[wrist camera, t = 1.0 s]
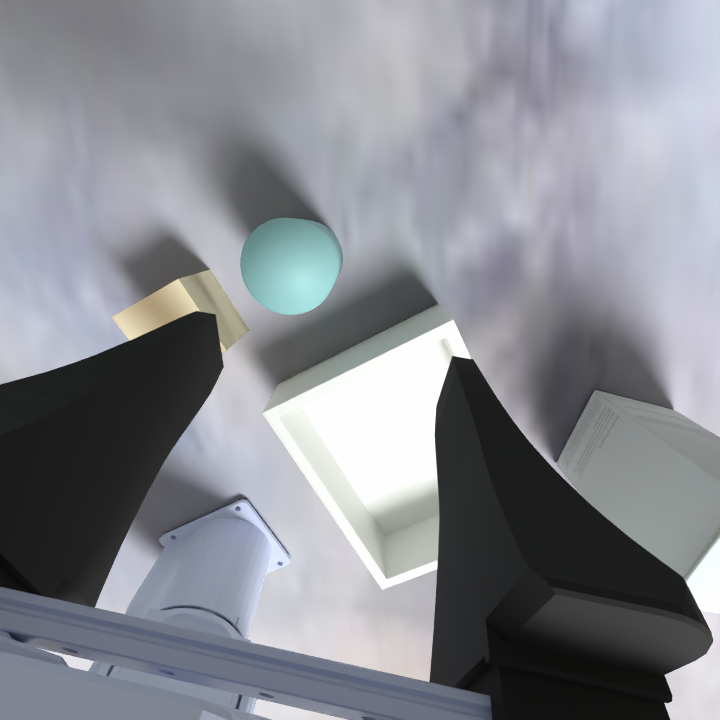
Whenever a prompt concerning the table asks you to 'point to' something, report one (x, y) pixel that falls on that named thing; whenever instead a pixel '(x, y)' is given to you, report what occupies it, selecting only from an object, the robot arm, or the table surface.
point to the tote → (375, 439)
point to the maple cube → (184, 308)
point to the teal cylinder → (291, 264)
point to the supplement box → (653, 484)
